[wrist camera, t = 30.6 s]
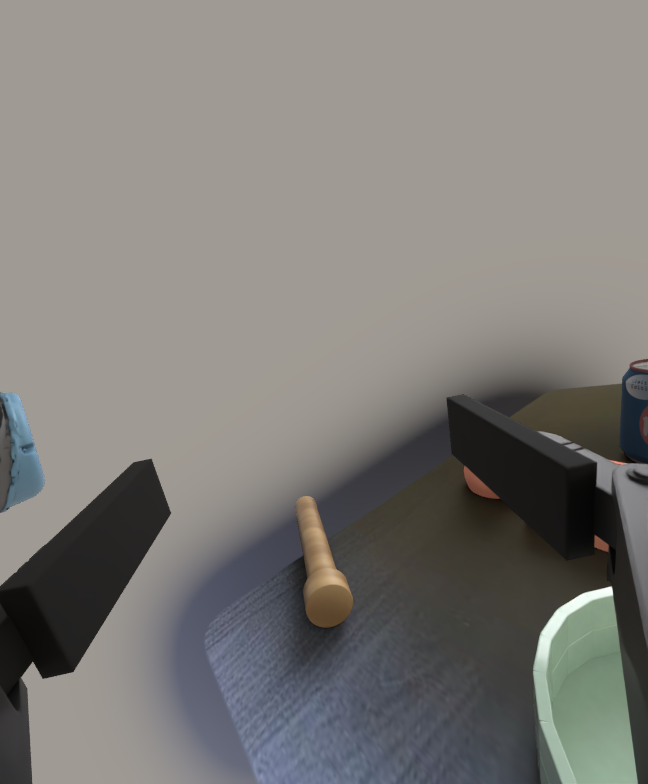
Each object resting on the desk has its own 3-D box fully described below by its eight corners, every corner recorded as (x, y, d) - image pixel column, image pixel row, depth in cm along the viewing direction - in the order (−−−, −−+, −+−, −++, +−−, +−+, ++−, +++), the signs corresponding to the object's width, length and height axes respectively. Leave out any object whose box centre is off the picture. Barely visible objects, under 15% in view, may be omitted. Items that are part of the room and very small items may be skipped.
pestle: (300, 625, 27) (287, 517, 43) (346, 629, 27) (315, 521, 44) (312, 581, 26) (294, 489, 43) (358, 587, 27) (323, 494, 44)
